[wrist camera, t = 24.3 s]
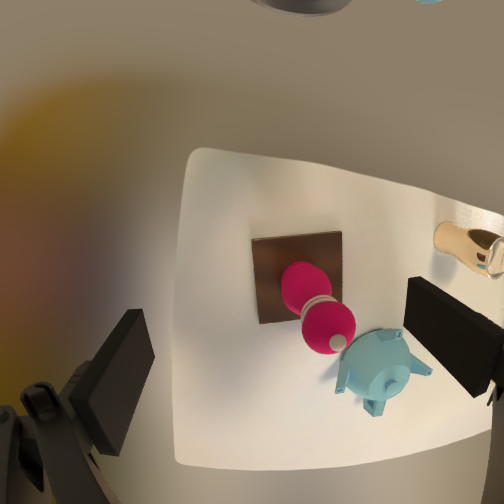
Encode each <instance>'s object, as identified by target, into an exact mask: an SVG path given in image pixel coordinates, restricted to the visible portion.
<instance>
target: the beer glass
mask: <svg viewBox="0 0 504 504" xmlns="http://www.w3.org/2000/svg"><path fill="white" fill-rule="evenodd" d="M434 245H435V248H436V249H437V251H438V252H440V253H442V254H448V255H452V256H454V257H455V258H456V259H458V260H459V261H460V262H461V263H462V264H464V265H465V266H466V267H468V268H469V269H471V270H473V271H474V272H476V273H479V274H481V275H484V276H487V277H489V278H491V279H498V278H500V277H501V276H502V275H503V274H504V237H502V236H499V235H497V234H495V233H493V232H490V231H487V230H483V229H477V228H461V227H458V226H456V225H454V224H453V223H451V222H443V223H441V224H440V225H439V226H438V228H437V229H436V231H435V234H434Z"/></svg>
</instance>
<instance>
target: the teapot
mask: <svg viewBox="0 0 504 504" xmlns="http://www.w3.org/2000/svg"><path fill="white" fill-rule="evenodd" d="M432 371H433V369H431V368H430V367H429V366H427V365H426V364H425V363H423V362H422V361H421V360H419V359H418V358H417V357H415V356H414V355H413V354H411V353H410V351H409V348H408V345H407V343H406V342H405V340H404V339H403V337H402V329H385V330H377V331H373V332H370V333H368V334H366V335H364V336H362V337H360V338H359V339H358V340H356V341H355V342H354V343H353V344H352V345H351V346H350V348H349V349H348V350H347V352H346V354H345V355H344V358H343V360H342V361H341V362H340V368H339V373H338V379H337V384H336V390H335V394H337V393H344V391H345V387H346V386H347V387H348V388H349V389H350V390H351V391H352V392H353V393H355V394H356V395H358V396H360V397H363V404H364V409H365V410H366V411H367V412H368V413H370V414H371V415H372V416H373V417H376V416H382V413H383V410H384V406H385V403H386V399H389V398H392V397H393V396H395V395H397V394H398V393H399V392H400V391H401V390H402V389H403V388H404V387H405V385H406V384H407V382H408V379H409V376H410V373H415V374H420V375H424V376H428V375H431V373H432Z"/></svg>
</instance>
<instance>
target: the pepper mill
mask: <svg viewBox="0 0 504 504" xmlns="http://www.w3.org/2000/svg"><path fill="white" fill-rule="evenodd" d="M281 294H282V299H283V301H284V303H285V304H286V306H287V307H288V308H289V309H290V310H291V311H292V312H294V313H296V314H298V315H301V322H302V334H303V337H304V340H305V342H306V343H307V345H308V346H309V347H310V348H311V349H312V350H314V351H316V352H318V353H321V354H335V353H338V352H340V351H342V350H343V349H345V348H346V347H347V346H348V345H349V344H350V342H351V341H352V339H353V337H354V335H355V331H356V323H355V319H354V316H353V314H352V312H351V311H350V310H349V308H347V307H346V306H345V305H344V304H341V303H339V302H338V301H337V300H336V299H335V298H333V297H331V295H332V288H331V283H330V281H329V278H328V277H327V275H326V274H325V273H324V272H323V271H322V270H321V269H319V268H317V267H315V266H314V265H312V264H311V263H308V262H304V261H299V262H295V263H292V264H291V265H289V266H288V267H287V268H286V269H285V270H284V272H283V274H282V277H281Z"/></svg>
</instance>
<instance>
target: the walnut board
mask: <svg viewBox="0 0 504 504" xmlns="http://www.w3.org/2000/svg"><path fill="white" fill-rule="evenodd" d="M252 249H253V260H254V271H255V281H256V292H257V303H258V314H259V323H260V324H267V323H276V322H284V321H292V320H300V319H301V315H298V314H296V313H294V312H292V311H291V310H290V309H289V308H288V307H287V306H286V304H285V303H284V301H283V299H282V294H281V277H282V274H283V272H284V270H285V269H286V268H287V267H288V266H289V265H291V264H292V263H295V262H299V261H304V262H308V263H311V264H312V265H314V266H315V267H317V268H319V269H321V270H322V271H323V272H324V273H325V274H326V275H327V277H328V278H329V281H330V283H331V288H332V295H331V297H333V298H335V299H336V300H337V301H338V302H339V303H341V304H342V232H341V231H332V232H321V233H311V234H300V235H290V236H280V237H270V238H259V239H252Z"/></svg>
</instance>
